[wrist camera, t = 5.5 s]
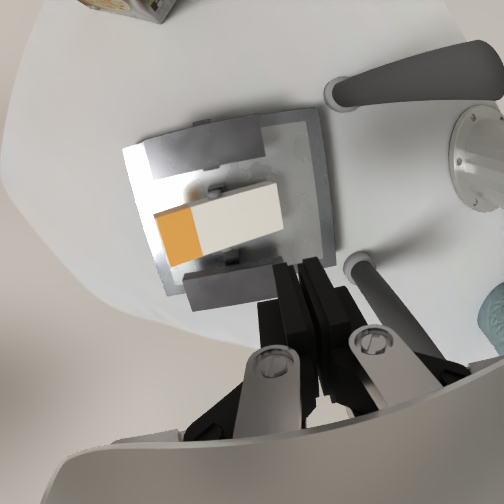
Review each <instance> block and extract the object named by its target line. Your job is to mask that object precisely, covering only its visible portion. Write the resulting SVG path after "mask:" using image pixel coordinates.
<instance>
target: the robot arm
mask: <svg viewBox="0 0 504 504" xmlns="http://www.w3.org/2000/svg"><path fill="white" fill-rule="evenodd" d="M449 165H450V173H451V177H452V181H453V185H454V187H455V189H456V192H457V194H458V195H459V197H460V198H461V200H462V201H463V202H464V203H465V204H466V205H467V206H469V207H471V208H472V209H474V210H477V211H479V212H490V211H493V210H495V209H497V208H498V207H501V208H503V209H504V116H503V115H502V114H501V113H500V112H499V111H498V110H496V109H495V108H493V107H490V106H486V105H477V106H472V107H471V108H469V109H467V110H466V111H465V112H464V113H463V114H462V115H461V116H460V118H459V119H458V121H457V122H456V125H455V127H454V130H453V133H452V137H451V141H450V150H449ZM297 267H298V275H299V281H298V278H297V275H296V272H295V269H294V266H293V265H289V266H288V265H287V262H284V263H279V264H273V265H272V268H273V274H274V279H275V285H276V291H277V297H278V299H275V300H269V301H264V302H258V303H257V308H258V320H259V332H260V344H261V349H259V350H257V351H256V352H254V353H253V354H252V355H251V356H250V357H249V359H248V361H247V364H246V369H245V375H244V380H243V382H242V383H240V384H239V385H238V386H237V387H236V388H235V389H233V390H232V391H231V392H230V393H229V394H228V395H226V396H225V397H224V398H223V399H222V400H220V401H219V402H218V403H217V404H216V405H214V406H213V407H212V408H211V409H209V410H208V411H207V412H206V413H205V414H203V415H202V416H201V417H200V418H198V419H197V420H196V421H195V422H193V423H192V424H191V425H190V426H189V427H188V428H187V430H186V431H182V432H179V431H178V430H177V429H175V430H170V431H165V432H160V433H155V434H149V435H143V436H137V437H131V438H125V439H120V440H117V441H114V442H113V443H111V444H110V445H104V446H98V447H94V448H91V449H86V450H83V451H80V452H77V453H75V454H73V455H70V456H68V457H67V458H66V459H64V460H63V461H62V462H61V463H60V464H59V465H58V467H57V468H56V470H55V471H54V473H53V475H52V477H51V479H50V481H49V483H48V485H47V488H46V490H45V492H44V495H43V498H42V500H41V504H504V355H502V356H499V357H495V358H491V359H487V360H482V361H478V362H473V363H469V364H468V367H465V366H463V365H461V364H458V363H455V362H451V361H448V360H444V359H440V358H437V357H433V356H429V355H426V354H422V353H419V352H415V351H412V350H411V349H410V348H409V347H408V346H407V345H406V343H405V342H404V341H403V340H402V339H401V338H400V337H399V336H398V335H397V333H396V332H395V331H393V330H392V329H391V328H389V327H386V326H384V325H378V324H371V325H368V324H367V322H366V321H365V319H364V317H363V315H362V313H361V312H360V310H359V308H358V306H357V305H356V303H355V301H354V299H353V298H352V296H351V294H350V293H349V291H348V289H347V288H346V286H341V287H336V288H334V287H333V285H332V284H331V282H330V280H329V278H328V276H327V274H326V272H325V270H324V268H323V266H322V265H321V263H320V261H319V259H318V257H317V256H316V257H311V258H306V259H302V263H300V264H297ZM299 283H300V284H299ZM318 376H319V380H320V383H321V387H322V391H323V394H324V396H326V395H330V398H331V402H332V403H336V402H337V403H339V404H341V405H344V406H346V411H347V414H348V416H349V418H350V419H347V420H343V421H339V422H335V423H331V424H326V425H321V426H317V427H312V428H307V419H306V418H307V417H308V415H310V413H311V412H312V411H313V410H314V409H315V408H316V399H315V398H317V397H319V383H318Z"/></svg>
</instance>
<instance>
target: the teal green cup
mask: <svg viewBox="0 0 504 504" xmlns="http://www.w3.org/2000/svg"><path fill="white" fill-rule="evenodd" d="M477 321H478V325H479V327H480V329H481V330H482V331H483V332H484V334H485V335H486V337H487V338H488V339H489V341H490V342H491V344H492V345H493V346H494V347H495V349H496V351H497V352H498V354H499V355H500V356H502V355H504V283H503V284H500V285H499V286H497V287H496V288H495V289H493V290H492V291H491V293H490V294H489V295H488V296H487V298H486V299H485V301H484V302H483V304H482V306H481V308H480V311H479V314H478V320H477Z"/></svg>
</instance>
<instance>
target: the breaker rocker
mask: <svg viewBox="0 0 504 504" xmlns="http://www.w3.org/2000/svg"><path fill="white" fill-rule="evenodd" d="M153 218H154V221H155V225H156V228H157V231H158V235H159V238H160V241H161V244H162V248H163V251H164V254H165V257H166V260H167V263H168V265H169V268H170V267H174V266H177V265H180V264H182V263H185V262H188V261H191V260H194V259H197V258H200V257H203V256H205V255H208V254H211V253H213V252H216V251H219V250H220V251H221V252H227V251H230V250H232V249H233V246H234V245H237V244H240V243H243V242H246V241H249V240H252V239H255V238H258V237H261V236H264V235H267V234H270V233H273V232H276V231H279V230H282V229H284V227H283V221H282V214H281V208H280V202H279V196H278V190H277V184H276V183H273V182H269V181H265V182H261V183H257V184H253V185H250V186H246V187H242V188H238V189H235V190H231V191H228V192H224V193H221V190H215V191H211V192H208V193H207V198H203V199H200V200H196V201H193V202H190V203H187V204H186V203H185V204H182V205H179V206H176V207H172V208H169V209H166V210H163V211H160V212H157V213H154V214H153Z"/></svg>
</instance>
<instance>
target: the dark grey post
mask: <svg viewBox="0 0 504 504" xmlns="http://www.w3.org/2000/svg"><path fill="white" fill-rule="evenodd" d="M503 95H504V66H503V63H502V61H501V59H500V57H499V56H498V54H497V52H496V51H495V50H494V49H493V48H492V47H491V46H490V45H489V44H488V43H486V42H484V41H481V40H475V41H470V42H465V43H461V44H456V45H452V46H448V47H444V48H440V49H436V50H433V51H429V52H425V53H422V54H418V55H415V56H411V57H408V58H405V59H402V60H399V61H395V62H392V63H389V64H386V65H383V66H381V67H378V68H375V69H372V70H369V71H366V72H364V73H361V74H358V75H356V76H353V77H351V78H347V77H338V78H336V79H333V80H331V81H330V82H328V83H327V85H326V86H325V88H324V99H325V102H326V104H327V105H328V106H329V107H330V108H331V109H332V110H334V111H337V112H351V111H354V110H356V109H357V108H358V107H359V106H364V105H372V104H382V103H393V102H406V101H423V100H494V101H496V100H499V99H501V98H502V97H503Z"/></svg>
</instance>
